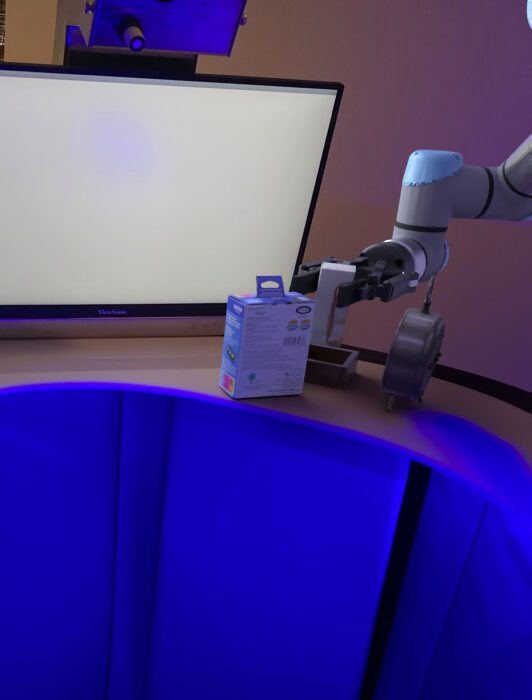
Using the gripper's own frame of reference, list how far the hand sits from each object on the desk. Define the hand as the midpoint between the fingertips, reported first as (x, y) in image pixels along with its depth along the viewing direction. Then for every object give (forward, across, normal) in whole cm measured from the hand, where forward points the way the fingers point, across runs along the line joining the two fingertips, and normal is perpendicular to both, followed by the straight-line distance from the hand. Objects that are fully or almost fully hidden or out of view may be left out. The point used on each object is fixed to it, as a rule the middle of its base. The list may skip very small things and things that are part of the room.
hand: (316, 292), depth 107 cm
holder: (-5, 0, -12) cm, 13 cm away
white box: (-5, 0, -8) cm, 9 cm away
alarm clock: (-3, -13, -12) cm, 18 cm away
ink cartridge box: (+6, +3, -12) cm, 14 cm away
